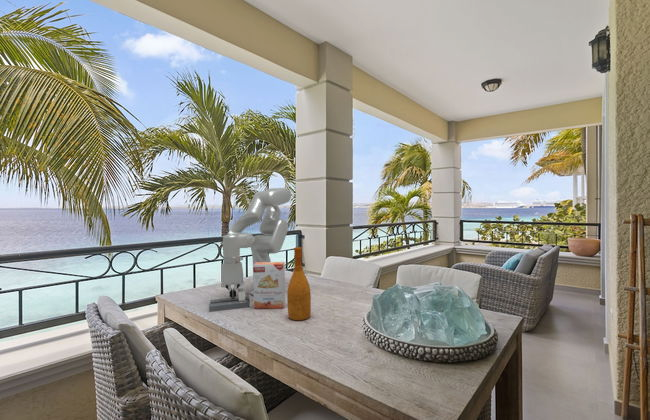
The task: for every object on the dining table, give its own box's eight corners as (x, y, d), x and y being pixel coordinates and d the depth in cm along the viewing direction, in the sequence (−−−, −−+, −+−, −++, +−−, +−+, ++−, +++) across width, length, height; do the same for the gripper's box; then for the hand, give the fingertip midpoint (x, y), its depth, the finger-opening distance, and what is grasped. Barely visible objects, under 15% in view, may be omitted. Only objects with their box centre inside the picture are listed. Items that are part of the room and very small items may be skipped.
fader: (244, 298, 154) (244, 288, 154) (245, 302, 149) (245, 291, 149) (238, 299, 153) (238, 288, 153) (238, 302, 148) (238, 291, 148)
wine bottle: (314, 314, 136) (312, 245, 135) (305, 322, 127) (304, 248, 126) (293, 312, 139) (292, 245, 139) (283, 320, 130) (282, 248, 129)
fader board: (248, 300, 157) (248, 292, 157) (250, 307, 147) (249, 298, 147) (210, 305, 151) (210, 296, 151) (209, 311, 142) (209, 303, 142)
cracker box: (253, 309, 144) (252, 264, 144) (256, 305, 150) (255, 261, 150) (284, 308, 144) (282, 263, 144) (285, 304, 150) (284, 261, 150)
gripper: (247, 257, 155) (248, 294, 156) (215, 260, 151) (216, 297, 151) (248, 260, 148) (249, 299, 148) (214, 263, 144) (216, 302, 144)
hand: (233, 298), depth 150 cm, fingers closed
